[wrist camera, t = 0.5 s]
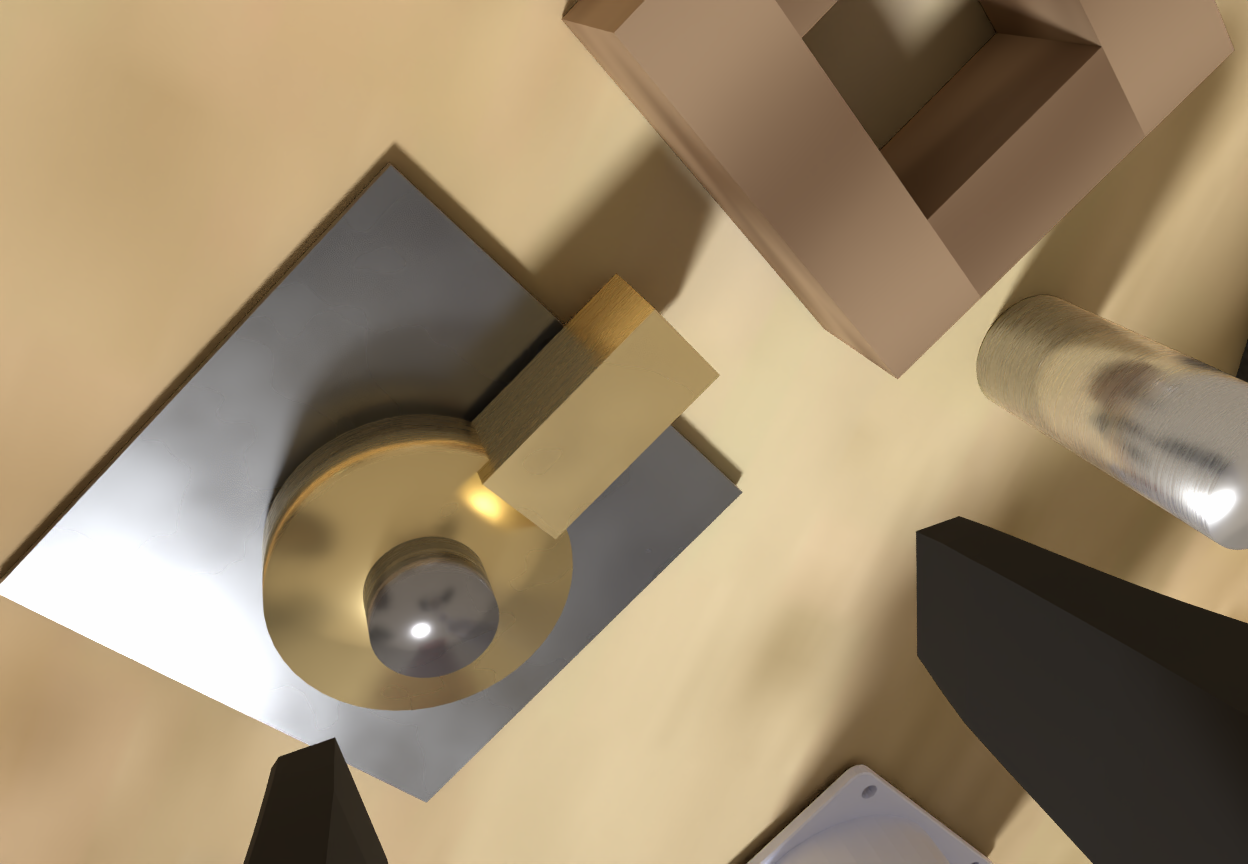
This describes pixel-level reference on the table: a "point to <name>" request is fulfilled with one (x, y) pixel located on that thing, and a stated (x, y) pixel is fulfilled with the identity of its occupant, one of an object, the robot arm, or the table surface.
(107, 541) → the plate
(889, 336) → the socket block
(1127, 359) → the pin
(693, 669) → the table surface
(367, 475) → the ring nut
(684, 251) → the table surface
